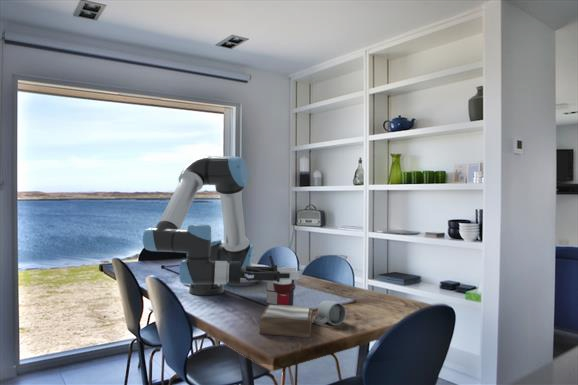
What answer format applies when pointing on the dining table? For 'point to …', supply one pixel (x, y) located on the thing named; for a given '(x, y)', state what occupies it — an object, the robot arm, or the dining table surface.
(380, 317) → the dining table surface
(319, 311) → the ceramic mug
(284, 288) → the cocoa
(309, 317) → the walnut stand
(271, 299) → the calculator
